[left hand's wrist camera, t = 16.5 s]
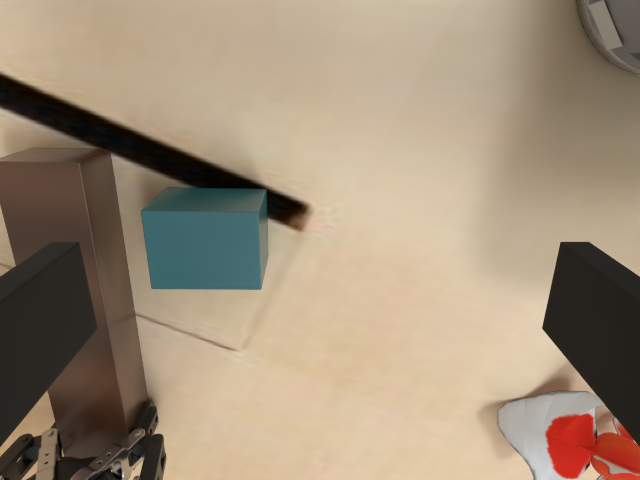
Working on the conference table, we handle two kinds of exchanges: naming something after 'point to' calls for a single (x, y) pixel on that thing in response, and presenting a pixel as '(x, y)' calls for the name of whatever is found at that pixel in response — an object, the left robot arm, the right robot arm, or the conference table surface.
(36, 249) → the tall bronze post
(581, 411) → the fish
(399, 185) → the conference table surface
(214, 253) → the cap block
